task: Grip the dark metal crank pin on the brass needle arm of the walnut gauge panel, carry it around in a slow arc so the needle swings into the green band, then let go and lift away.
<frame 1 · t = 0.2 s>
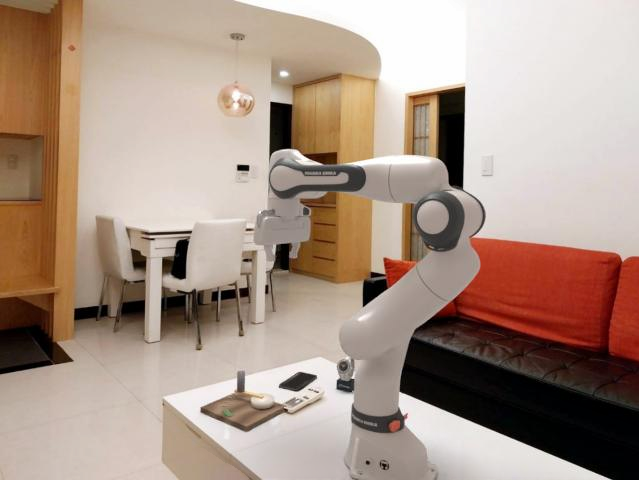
hand: (282, 259, 135), 47 cm above the table, tool pointing down, fingers open, 8 cm apart
phone: (298, 383, 171), on the table
watch: (346, 389, 167), on the table
gauge panel: (262, 409, 149), on the table
dial peg: (253, 388, 150), point 6 cm above the table, hinge at 10.0°
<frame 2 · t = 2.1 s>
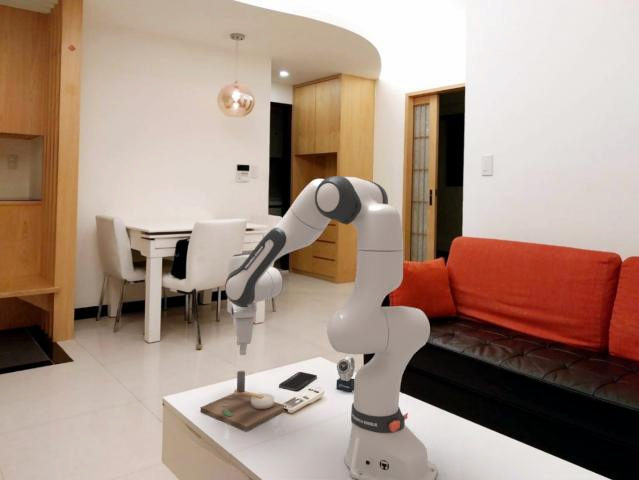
hand: (241, 349, 151), 17 cm above the table, tool pointing down, fingers open, 8 cm apart
nothing on the table moved.
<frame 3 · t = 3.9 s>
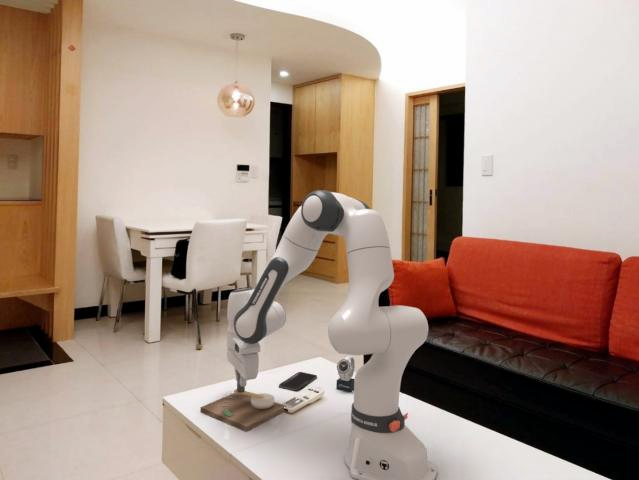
hand: (241, 383, 152), 7 cm above the table, tool pointing down, fingers closed on dial peg, 2 cm apart
dial peg: (253, 388, 150), point 6 cm above the table, hinge at 10.0°, touching gripper
everything else where it was.
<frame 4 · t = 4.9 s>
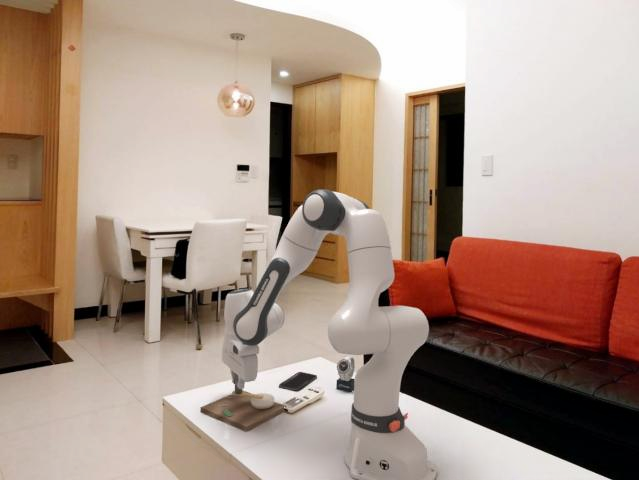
hand: (238, 385, 150), 7 cm above the table, tool pointing down, fingers open, 3 cm apart
dial peg: (252, 389, 149), point 6 cm above the table, hinge at 20.0°, touching gripper
everything else where it was.
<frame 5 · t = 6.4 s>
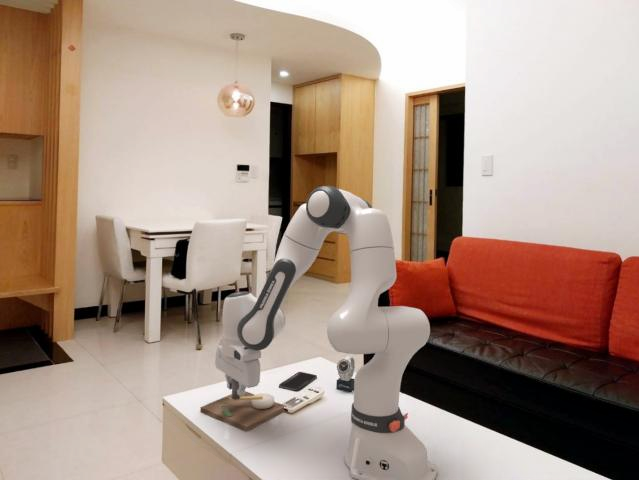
hand: (235, 391, 145), 7 cm above the table, tool pointing down, fingers open, 4 cm apart
dial peg: (252, 391, 148), point 6 cm above the table, hinge at 48.1°, touching gripper
everything else where it was.
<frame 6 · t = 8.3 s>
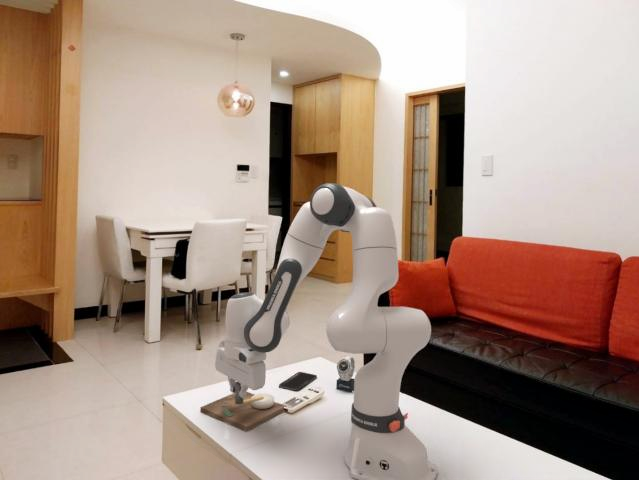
hand: (238, 394, 143), 7 cm above the table, tool pointing down, fingers open, 3 cm apart
dial peg: (253, 392, 146), point 6 cm above the table, hinge at 73.6°, touching gripper
everything else where it was.
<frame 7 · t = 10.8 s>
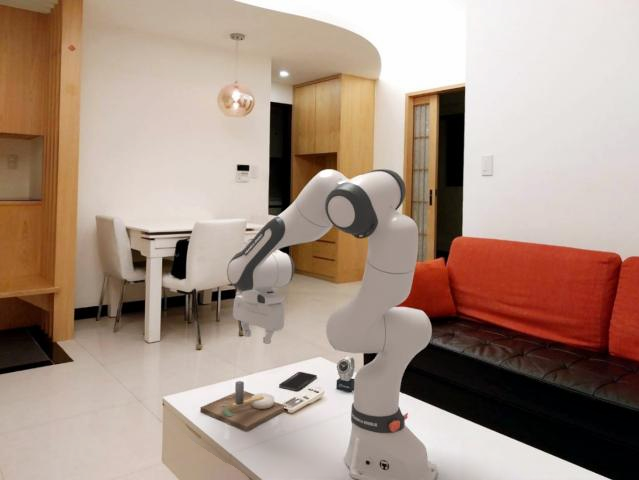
hand: (256, 339, 144), 23 cm above the table, tool pointing down, fingers open, 8 cm apart
dial peg: (253, 393, 146), point 6 cm above the table, hinge at 74.5°
everything else where it was.
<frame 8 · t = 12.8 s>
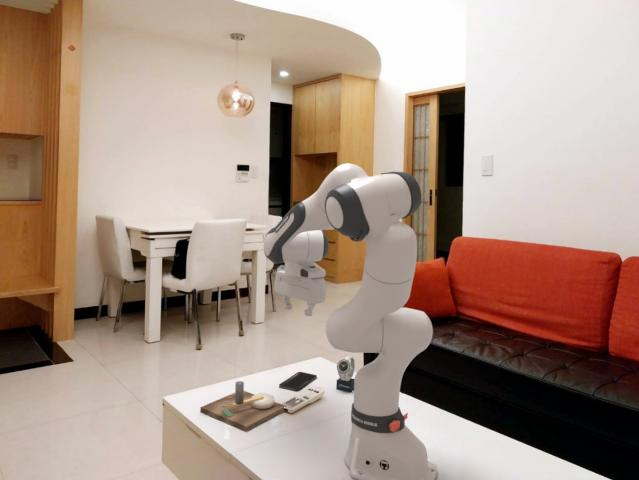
hand: (298, 312, 151), 29 cm above the table, tool pointing down, fingers open, 8 cm apart
nothing on the table moved.
at the end: dial peg at +74° (first picture: +10°); the gripper is holding nothing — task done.
